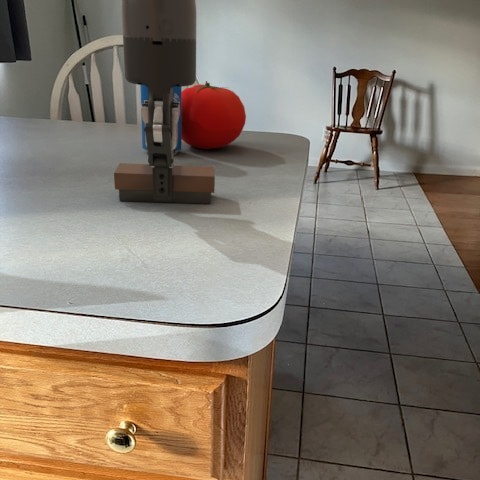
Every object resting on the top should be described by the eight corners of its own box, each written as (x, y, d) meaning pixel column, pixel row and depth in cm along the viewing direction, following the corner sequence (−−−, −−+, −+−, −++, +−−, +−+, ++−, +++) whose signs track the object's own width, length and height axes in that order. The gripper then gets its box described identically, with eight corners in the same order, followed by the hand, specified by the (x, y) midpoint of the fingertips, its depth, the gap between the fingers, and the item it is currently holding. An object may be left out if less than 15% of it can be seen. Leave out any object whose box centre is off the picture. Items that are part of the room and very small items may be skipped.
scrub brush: (115, 201, 66) (113, 172, 64) (121, 190, 70) (119, 163, 69) (214, 204, 67) (214, 176, 65) (213, 193, 71) (214, 166, 70)
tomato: (168, 139, 101) (168, 77, 96) (232, 139, 104) (235, 79, 99) (182, 155, 90) (182, 86, 84) (253, 155, 93) (257, 88, 88)
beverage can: (159, 158, 87) (158, 77, 81) (134, 151, 91) (131, 73, 85) (189, 153, 91) (189, 76, 85) (164, 147, 95) (163, 72, 89)
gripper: (130, 31, 61) (137, 183, 70) (113, 32, 50) (123, 215, 58) (197, 34, 62) (195, 185, 70) (195, 37, 50) (193, 217, 59)
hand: (163, 198), depth 64 cm, fingers closed
